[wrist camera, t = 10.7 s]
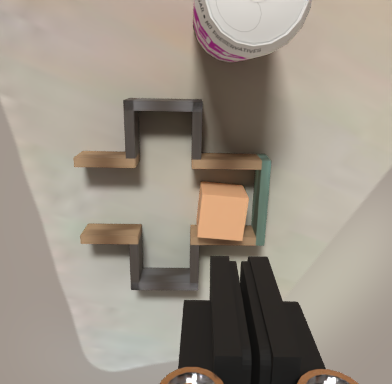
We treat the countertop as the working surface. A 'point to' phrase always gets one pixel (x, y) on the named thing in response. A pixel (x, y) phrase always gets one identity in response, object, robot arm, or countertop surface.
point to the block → (221, 211)
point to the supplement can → (247, 26)
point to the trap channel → (131, 158)
